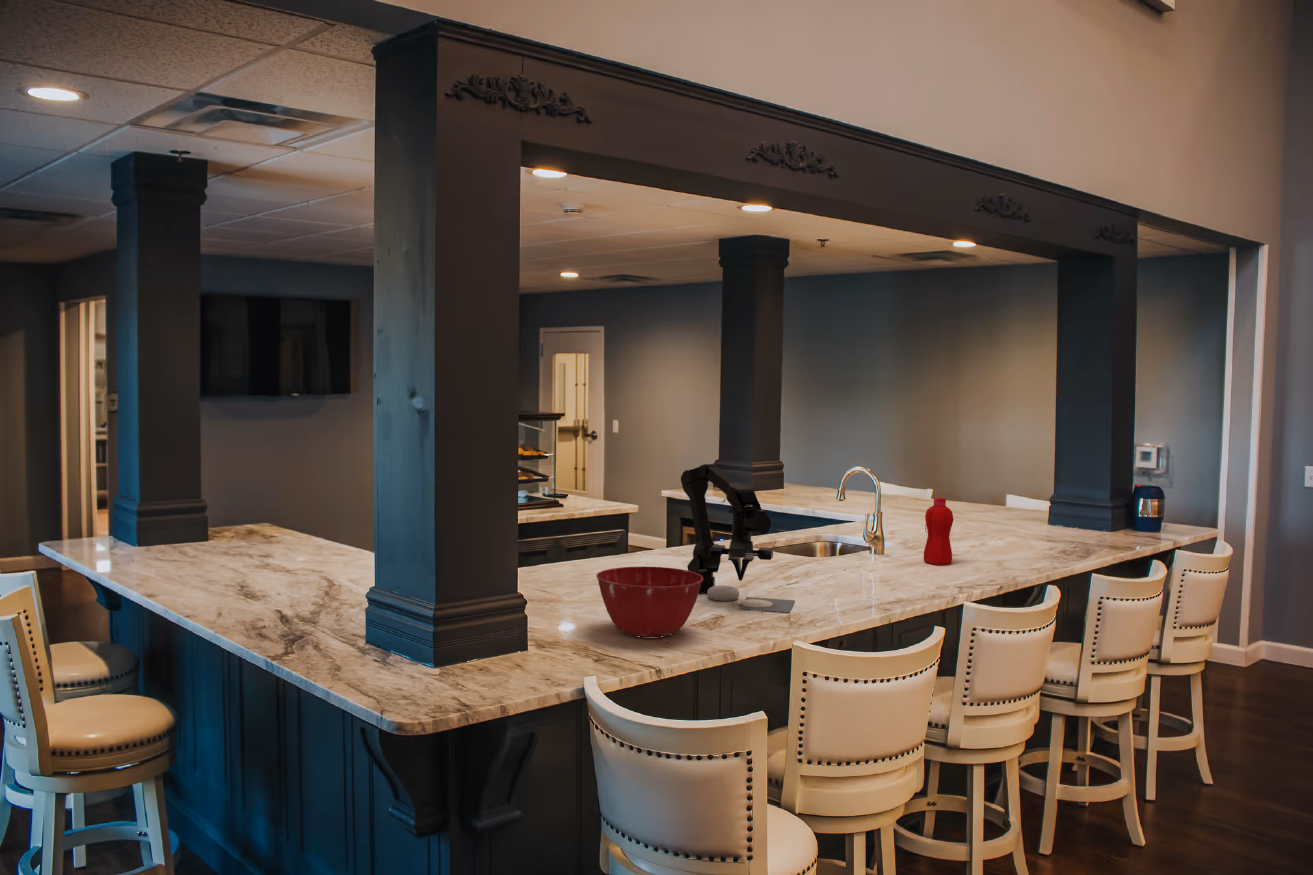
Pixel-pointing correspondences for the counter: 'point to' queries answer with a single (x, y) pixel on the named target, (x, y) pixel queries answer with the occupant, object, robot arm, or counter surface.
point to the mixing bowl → (649, 598)
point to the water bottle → (938, 533)
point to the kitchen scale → (767, 604)
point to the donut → (723, 593)
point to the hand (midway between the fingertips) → (740, 580)
